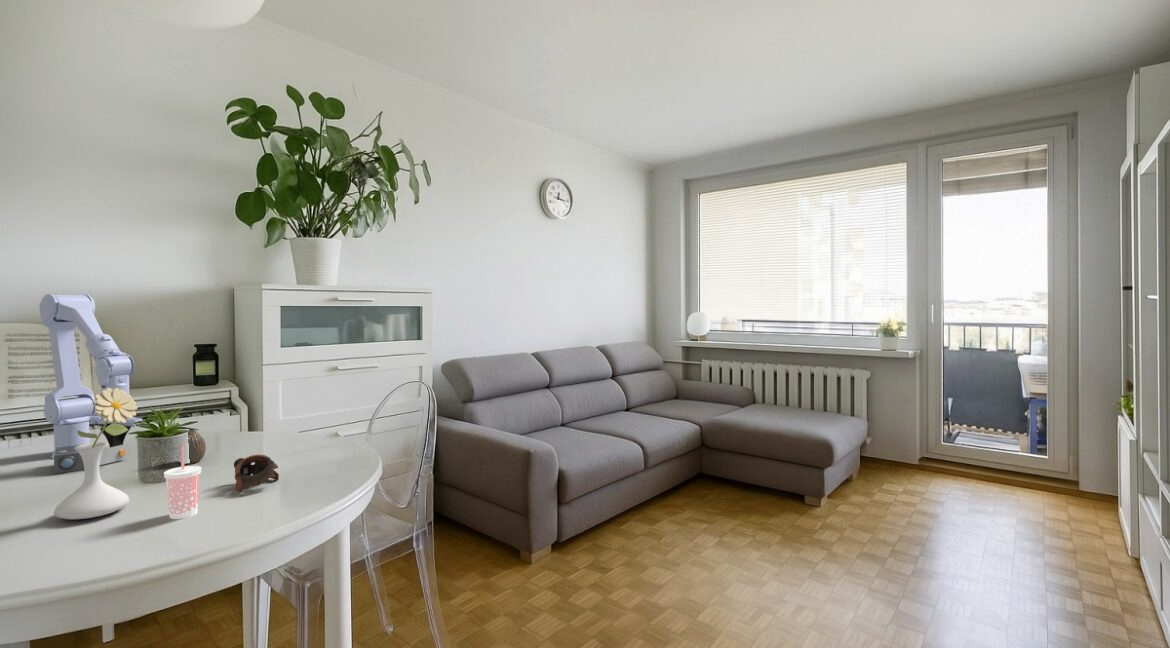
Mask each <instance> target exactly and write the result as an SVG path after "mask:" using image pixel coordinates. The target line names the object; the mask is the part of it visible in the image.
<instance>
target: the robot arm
mask: <svg viewBox="0 0 1170 648" xmlns="http://www.w3.org/2000/svg"><path fill="white" fill-rule="evenodd" d="M95 311H96V303H95V300H94V299H93V297H92V296H91V295H89V294H51V293H47V294H45V295H44V296H43V297H42V299H41V300H40V302H39V313H40V320H41V325H42V326H44V327H46V328H48V334H49V343H50V348H51V349H50V351H51V355H52V362H53V369H54V370H53V371H54V376H55V384H56V388H54V389H53V390H52V391H50V392H49V393H48V394H47V395H46V396H45V397H44V406H43V407H44V408H43V415H44V418H45V419H46V421H48V422H49V423H50V424H51V425H53V440H54V441H53V445H54V446H53V447H54V448H53V449H54V450H53V452H52V455H51V459H54V454H55V451H56V448H57V447H65V446H74V445H82V444H90V443H91V442H90V439H91V438H86V437H81V436H79V435H78V432H77V431H78V430H79V431H81V432H85V433H90V425H104V423H105V421H104V420H103V417H100V416H99V415H96V414H97V413H96V412H95V406H94V403H96V402H95V401H94V399H95V396H94V391H93V390H91V389H90V388H89V387H86V386H85V385H83V384H82V381H81V380H82V378H81V373H80V366H79V359H78V351H77V346H76V345H77V344H76V338H75V332H74V331H75V329H76V327H77V329H78V330H79V331H80V333H81V334H82V335H83V336H84V338H86V341H85V344H84V346H85V348H86V349H87V351H88V352H89V354H90V356H91V357H92V359H93V361H94V362H95V366H94V371H95V372H94V373H95V375H96V377H97V383H98V386H100V391H101V392H100V394H102V391H103V390H106V389H107V388H110V389H112V390H114V389H115V388H118V389H119V390H123V391H124V392H126V395H130V376H132V374H134V371H135V361H134V359H133V357H132V356H131V355H129V354H127V353H125V352H122V351H121V349H120V348H119V346H118V345H117V344H116V342H115V341H114V338H113V337H112V336H111V335H109V334H106V333H104V332H103V330H102V328H101V327H100V324H99V323H98V321H97V318H96V316H95V313H96V312H95ZM102 395H103V394H102ZM127 420H128V421H127V422H126V423H117V422H116V424H120V425H123V426H124V427H126V428H127V429H128V430H127V431H126V432H124V433H122V434H120V435H116V436H113V435H110V434H109V433H107V432H106V431H105V430H104V431H103V432H102V434H103V435H104V437H105V439H106V440H107V442H108V446H109V448H110V447H114V446H119V445H124V441H125V439H126V437H127V435H128V434H129V433H128V432H129V431H130V430H131V428H139V426H136V425H133V423H135V422H138V421H142V422H143V418H140V417H139V418H138V417H137V416H133V418H132V419H128V418H127ZM111 424H114V423H112V422H109V421H107V423H106V427H107V426H109V425H111ZM106 427H105V428H106ZM102 428H103V427H101V428H99V429H100V432H101V430H102Z"/></svg>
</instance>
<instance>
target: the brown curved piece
mask: <svg viewBox="0 0 1170 648" xmlns="http://www.w3.org/2000/svg"><path fill="white" fill-rule="evenodd" d="M253 463H254V464H253ZM233 467H234V480H235V485H234V488H235V491H237V492H238V493H242V492H243V490H244V489H250V488H252V487H257V486H259V485H261V483H265V482H267V481H268V480H269V479H273V480H275V481H276V480H278V481H279V475H280V474H279V473H278V472H277V471H276V470H277V469H279V465H278V464H276V463H275V461H273V460H272V458H270V457H269V456H267V455H264V454H253V455H249V456H247V457H245V458H244V457H238V458H237V459H236V460H235V461H234V463H233Z"/></svg>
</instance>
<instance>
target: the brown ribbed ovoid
mask: <svg viewBox="0 0 1170 648" xmlns="http://www.w3.org/2000/svg"><path fill="white" fill-rule="evenodd" d="M188 429H189V430H190V431H189V432H188V443H189V459H190V464H189V465H193V464H196V463H199V462H201V460H203V458H204V456H205V454H206V451H207V450H206V449H207V448H206V447H207V445H206V441H205V439H204V438H203V437H202V435H200V434H199V433H198V432H197V429H196V428H188Z"/></svg>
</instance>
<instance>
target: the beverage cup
mask: <svg viewBox="0 0 1170 648" xmlns="http://www.w3.org/2000/svg"><path fill="white" fill-rule="evenodd" d="M180 464H181V465H180V466H179V467H173V468H171V469H170V468H169V469H167V470H166V471H165V470H164V472H163V475H164V476H163V478H164V479H165V484H166V493H167V494H166V495H167V502H168V504H167V505H168V515H169V518H170V519H173V520H180V519H188V518H190V517H194V516H196V515H197V514H198V511H199V498H200V497H199V493H200V492H199V491H200V479H201V478H200V477H201V473H202V467H201V466H199V465H186V466H185V464H184V445H181V463H180Z"/></svg>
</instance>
